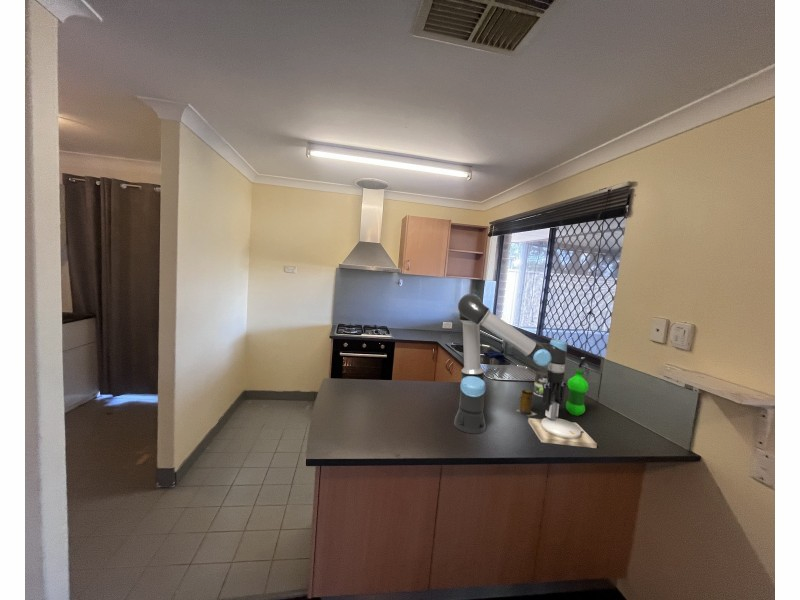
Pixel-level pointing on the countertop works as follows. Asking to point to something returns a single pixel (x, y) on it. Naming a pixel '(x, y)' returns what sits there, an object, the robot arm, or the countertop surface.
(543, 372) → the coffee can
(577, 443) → the dial panel
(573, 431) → the dial
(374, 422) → the countertop surface
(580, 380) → the plastic bottle
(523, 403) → the condiment
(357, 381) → the countertop surface
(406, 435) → the countertop surface
